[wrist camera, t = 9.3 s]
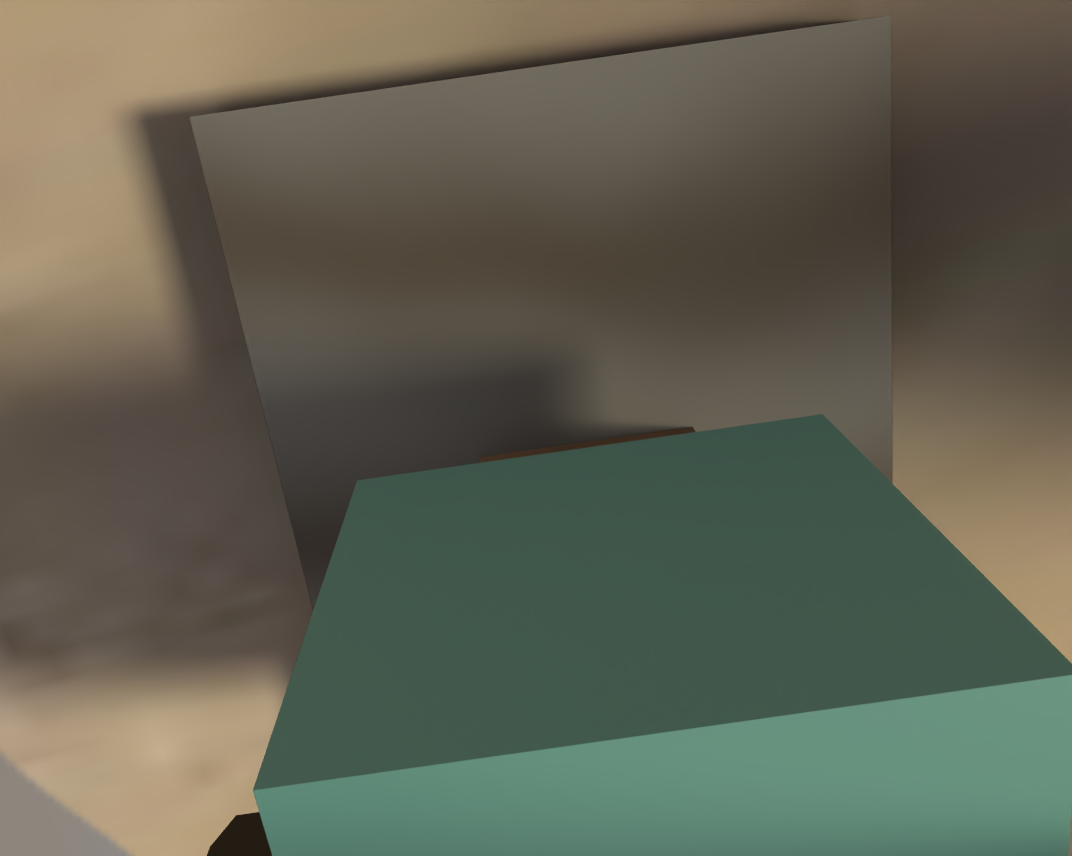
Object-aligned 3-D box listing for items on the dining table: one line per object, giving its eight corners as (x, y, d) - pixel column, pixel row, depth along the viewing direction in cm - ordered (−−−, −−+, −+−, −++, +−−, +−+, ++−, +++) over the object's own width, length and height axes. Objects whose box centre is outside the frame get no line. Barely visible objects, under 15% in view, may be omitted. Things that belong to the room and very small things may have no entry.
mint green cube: (357, 480, 15) (253, 790, 8) (822, 414, 15) (1081, 673, 8) (437, 845, 17) (405, 1302, 11) (835, 789, 17) (1040, 1214, 11)
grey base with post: (213, 113, 18) (-76, 155, 9) (859, 20, 17) (1237, -35, 9) (395, 860, 24) (335, 1327, 15) (870, 796, 24) (1093, 1228, 15)
